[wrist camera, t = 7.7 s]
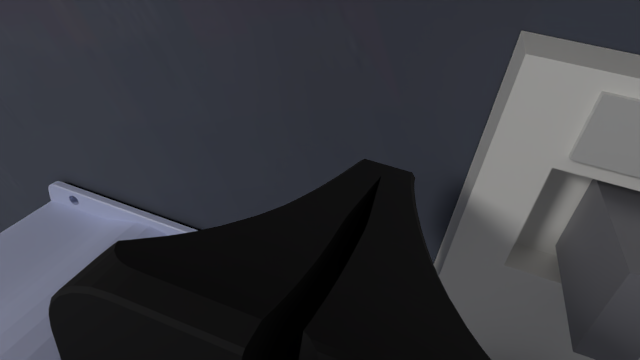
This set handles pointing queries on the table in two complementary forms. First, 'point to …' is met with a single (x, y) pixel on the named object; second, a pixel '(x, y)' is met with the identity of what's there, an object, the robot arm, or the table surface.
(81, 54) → the table surface
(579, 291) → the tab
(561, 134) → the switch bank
